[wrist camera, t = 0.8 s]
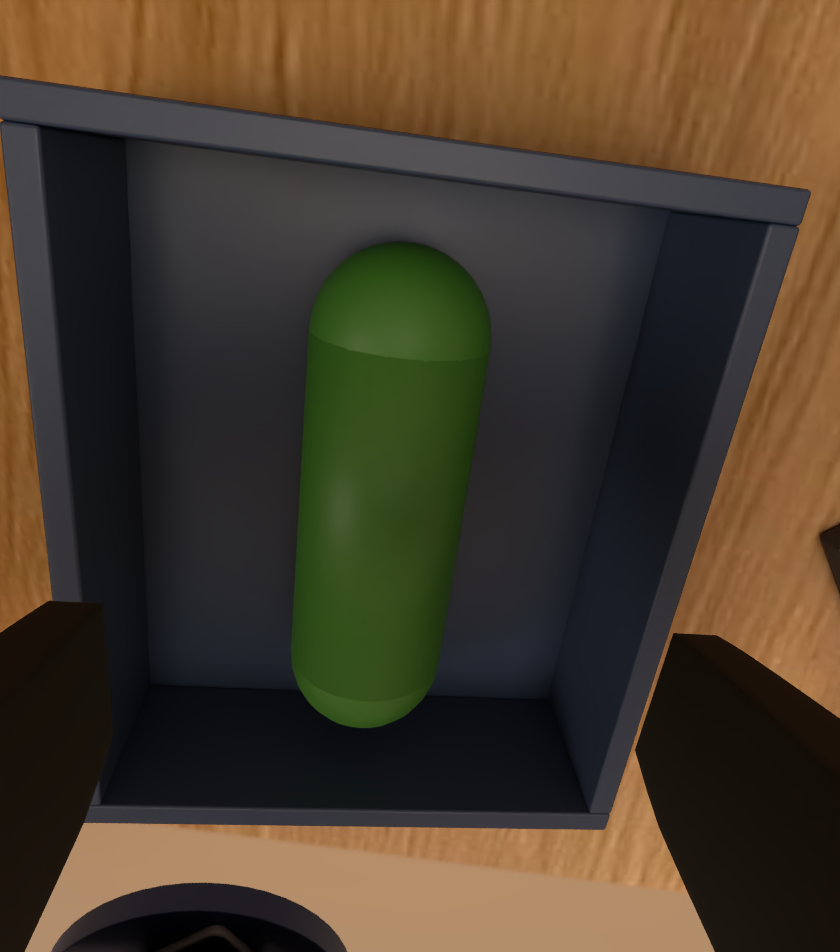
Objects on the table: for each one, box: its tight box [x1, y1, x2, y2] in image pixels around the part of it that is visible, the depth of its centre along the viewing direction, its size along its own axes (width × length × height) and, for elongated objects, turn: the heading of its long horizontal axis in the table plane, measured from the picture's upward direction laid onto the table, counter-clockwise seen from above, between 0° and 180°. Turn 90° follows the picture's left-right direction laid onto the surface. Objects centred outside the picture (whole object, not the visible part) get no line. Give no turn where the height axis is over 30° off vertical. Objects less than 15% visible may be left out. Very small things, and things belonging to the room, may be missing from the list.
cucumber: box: [291, 241, 492, 728], centre depth 13 cm, size 10×3×3 cm, turn 173°
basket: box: [0, 75, 811, 830], centre depth 13 cm, size 13×11×4 cm
